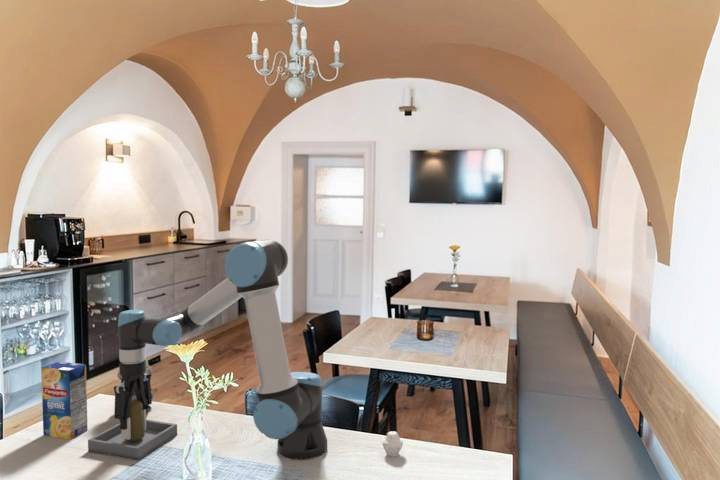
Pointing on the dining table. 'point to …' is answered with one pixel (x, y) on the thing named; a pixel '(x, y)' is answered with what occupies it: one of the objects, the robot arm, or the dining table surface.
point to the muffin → (392, 443)
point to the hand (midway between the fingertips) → (134, 433)
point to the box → (136, 449)
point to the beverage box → (64, 399)
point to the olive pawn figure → (136, 420)
